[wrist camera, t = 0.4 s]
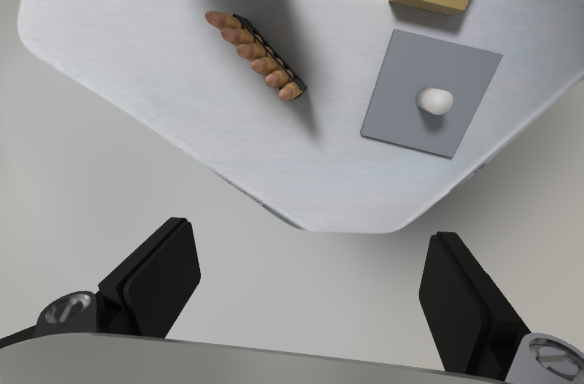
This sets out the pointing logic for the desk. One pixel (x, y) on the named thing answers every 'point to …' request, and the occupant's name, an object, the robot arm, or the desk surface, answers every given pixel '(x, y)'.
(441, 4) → the collar
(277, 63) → the ammunition clip
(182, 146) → the desk surface
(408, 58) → the post plate
